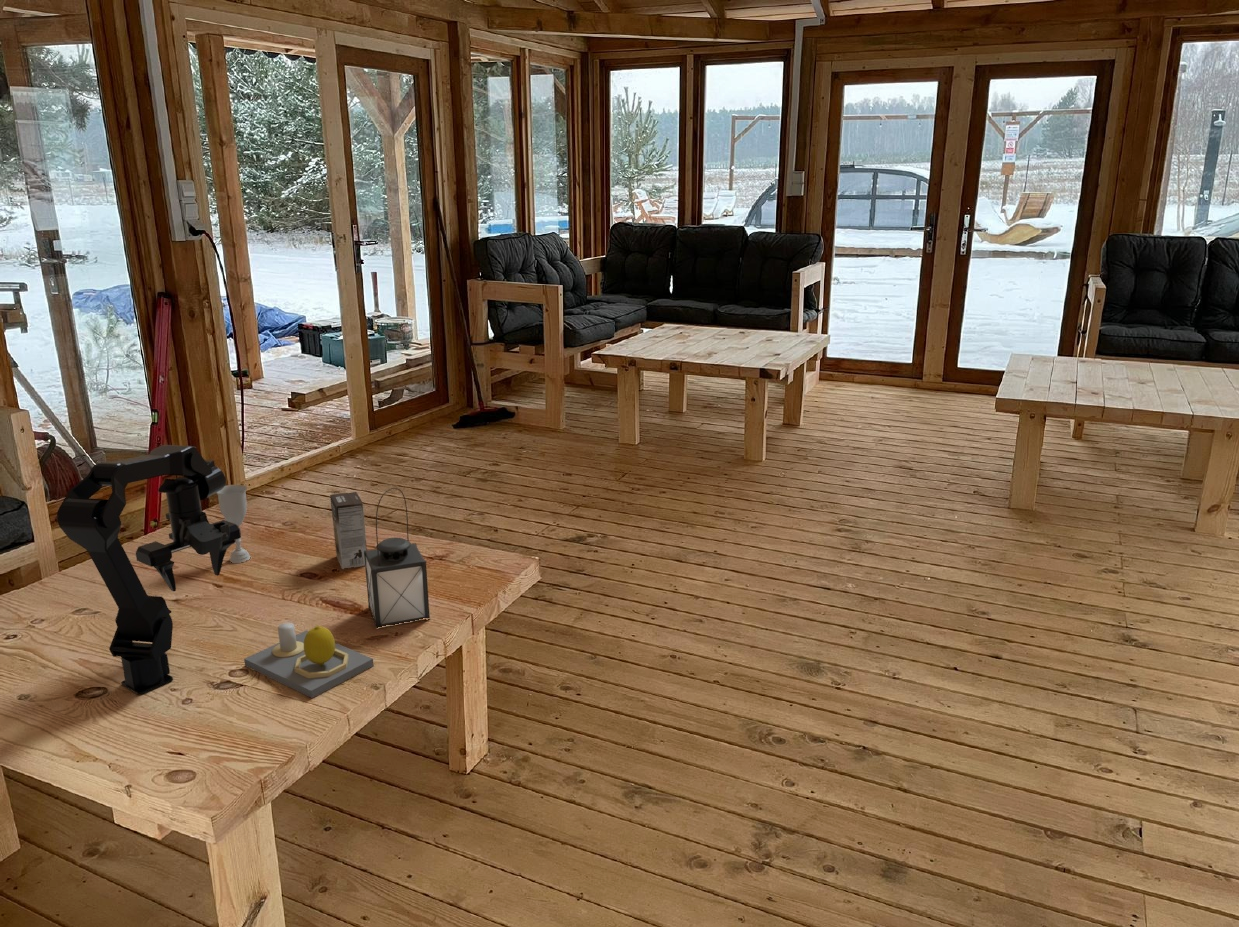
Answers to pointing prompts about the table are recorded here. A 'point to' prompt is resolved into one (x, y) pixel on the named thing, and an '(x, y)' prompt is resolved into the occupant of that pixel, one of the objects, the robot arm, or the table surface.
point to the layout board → (306, 664)
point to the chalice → (234, 514)
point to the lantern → (396, 581)
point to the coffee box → (349, 529)
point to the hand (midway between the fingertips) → (195, 582)
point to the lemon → (319, 645)
